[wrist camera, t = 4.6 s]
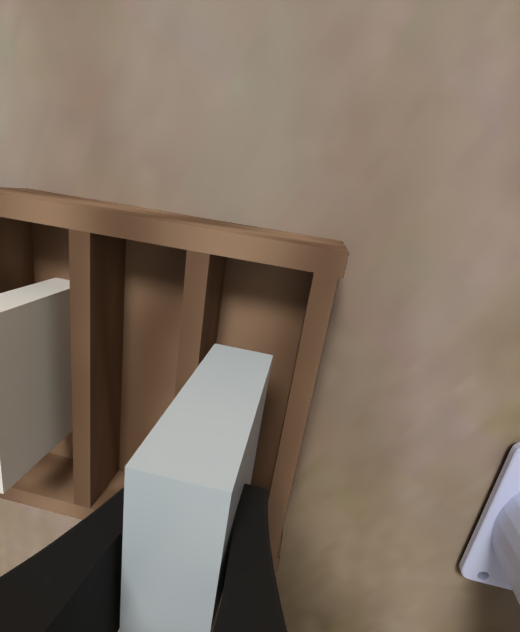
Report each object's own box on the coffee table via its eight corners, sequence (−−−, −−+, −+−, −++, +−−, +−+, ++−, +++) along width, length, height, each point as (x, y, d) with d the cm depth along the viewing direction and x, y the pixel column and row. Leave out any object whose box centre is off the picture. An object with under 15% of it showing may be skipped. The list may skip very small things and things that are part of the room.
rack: (342, 241, 15) (349, 253, 11) (284, 507, 19) (276, 571, 16) (27, 188, 16) (-49, 185, 13) (41, 447, 21) (-13, 494, 17)
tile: (85, 283, 16) (-14, 317, 11) (85, 418, 18) (3, 494, 13) (55, 277, 16) (-54, 308, 11) (59, 412, 18) (-30, 484, 14)
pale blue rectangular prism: (273, 355, 12) (232, 493, 6) (244, 515, 14) (196, 721, 9) (214, 343, 12) (124, 466, 7) (196, 503, 14) (117, 697, 9)
